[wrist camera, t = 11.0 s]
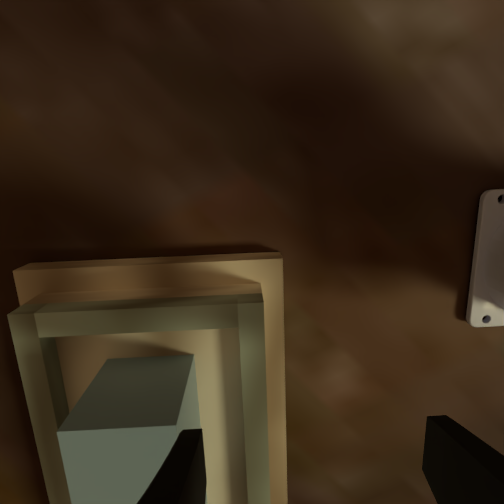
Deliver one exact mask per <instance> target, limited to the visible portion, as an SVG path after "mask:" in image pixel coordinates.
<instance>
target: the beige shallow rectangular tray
mask: <svg viewBox="0 0 504 504" xmlns="http://www.w3.org/2000/svg"><path fill="white" fill-rule="evenodd" d="M13 276H14V280H15V285H16V290H17V294H18V299H19V303H20V307H18V308H17V309H15V310H14V311H12V312H11V313H9V314H7V317H8V321H9V326H10V330H11V335H12V339H13V343H14V348H15V352H16V357H17V361H18V365H19V370H20V374H21V379H22V383H23V388H24V392H25V396H26V401H27V405H28V410H29V414H30V418H31V423H32V427H33V432H34V436H35V441H36V445H37V449H38V454H39V458H40V463H41V467H42V472H43V476H44V480H45V485H46V489H47V494H48V498H49V502H50V504H72V503H71V498H70V494H69V489H68V484H67V479H66V474H65V470H64V465H63V460H62V455H61V450H60V446H59V441H58V436H57V431H58V429H59V428H60V426H61V425H62V423H63V422H64V421H65V419H66V418H67V416H68V415H69V413H70V412H71V410H72V409H73V408H74V406H75V405H76V403H77V402H78V400H79V399H80V398H81V396H82V395H83V393H84V392H85V390H86V389H87V387H88V386H89V385H90V383H91V382H92V380H93V379H94V377H95V376H96V375H97V373H98V372H99V370H100V369H101V367H102V366H103V365H104V363H105V362H106V360H107V359H114V358H134V357H153V356H173V355H192V354H194V358H195V369H196V380H197V391H198V402H199V414H200V425H201V429H202V432H203V443H204V455H205V466H206V478H207V486H206V492H207V503H208V504H287V458H286V405H285V352H284V300H283V258H282V256H281V253H280V252H261V253H239V254H216V255H194V256H172V257H150V258H128V259H106V260H84V261H62V262H40V263H28V264H26V265H24V266H22V267H20V268H18V269H15V270H13Z"/></svg>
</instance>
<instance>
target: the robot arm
mask: <svg viewBox="0 0 504 504" xmlns="http://www.w3.org/2000/svg"><path fill="white" fill-rule="evenodd" d="M500 195H502V200H501V201H500V202H498V197H499V196H500ZM484 316H486V318H485V319H484V320H482V318H483V317H484ZM466 321H467V323H469V324H470V325H471V326H473V327H490V326H504V189H494V190H487V191H485V192H484V193H483V194H482V195H481V197H480V203H479V211H478V220H477V228H476V237H475V245H474V254H473V262H472V271H471V279H470V288H469V296H468V305H467V313H466ZM422 470H423V472H424V474H425V477H426V479H427V481H428V484H429V486H430V488H431V490H432V492H433V495H434V497H435V499H436V501H437V503H438V504H504V456H503V455H502V454H501V453H499V452H498V451H496V450H495V449H493V448H492V447H491V446H489V445H488V444H486V443H485V442H484V441H482V440H481V439H479V438H478V437H477V436H475V435H474V434H472V433H471V432H470V431H468V430H467V429H465V428H464V427H463V426H461V425H460V424H458V423H457V422H455V421H454V420H452V419H451V418H449V417H448V416H446V415H442V416H427V423H426V433H425V444H424V454H423V465H422ZM206 486H207V478H206V466H205V455H204V443H203V432H202V429H183V430H182V431H181V432H180V433H179V435H178V437H177V439H176V441H175V443H174V445H173V447H172V448H171V450H170V452H169V454H168V456H167V457H166V459H165V461H164V462H163V464H162V466H161V467H160V469H159V471H158V472H157V474H156V475H155V477H154V478H153V480H152V482H151V483H150V485H149V486H148V488H147V489H146V491H145V492H144V494H143V495H142V497H141V498H140V500H139V501H138V502H137V504H205V500H206Z"/></svg>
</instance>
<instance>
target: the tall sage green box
mask: <svg viewBox="0 0 504 504" xmlns="http://www.w3.org/2000/svg"><path fill="white" fill-rule="evenodd" d="M183 429H201V425H200V414H199V402H198V391H197V380H196V369H195V358H194V354H192V355H173V356H153V357H134V358H114V359H107V360H106V362H105V363H104V365H103V366H102V367H101V369H100V370H99V372H98V373H97V375H96V376H95V377H94V379H93V380H92V382H91V383H90V385H89V386H88V387H87V389H86V390H85V392H84V393H83V395H82V396H81V398H80V399H79V400H78V402H77V403H76V405H75V406H74V408H73V409H72V410H71V412H70V413H69V415H68V416H67V418H66V419H65V421H64V422H63V423H62V425H61V426H60V428H59V429H58V431H57V436H58V441H59V446H60V450H61V455H62V460H63V465H64V470H65V474H66V479H67V484H68V489H69V494H70V498H71V503H72V504H137V502H138V501H139V500H140V498H141V497H142V495H143V494H144V492H145V491H146V489H147V488H148V486H149V485H150V483H151V482H152V480H153V478H154V477H155V475H156V474H157V472H158V471H159V469H160V467H161V466H162V464H163V462H164V461H165V459H166V457H167V456H168V454H169V452H170V450H171V448H172V447H173V445H174V443H175V441H176V439H177V437H178V435H179V433H180V432H181V431H182V430H183ZM205 504H208V503H207V492H206V500H205Z"/></svg>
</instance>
